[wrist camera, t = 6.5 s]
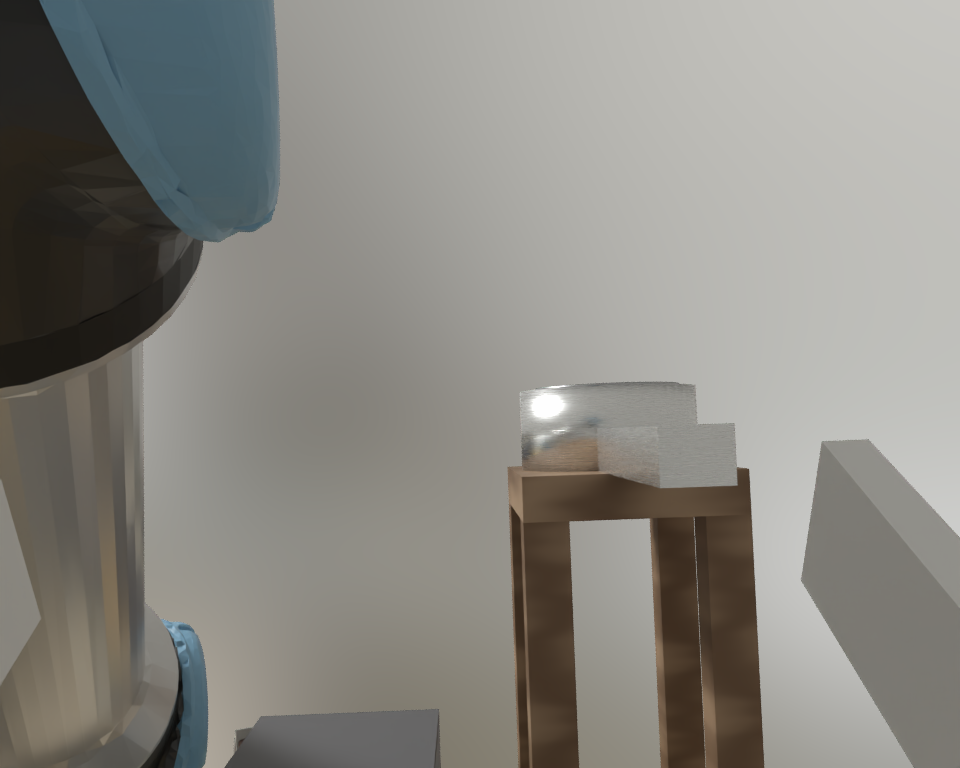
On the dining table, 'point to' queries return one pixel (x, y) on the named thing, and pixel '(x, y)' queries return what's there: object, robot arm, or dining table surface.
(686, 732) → the tall stand
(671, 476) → the silver saucepan
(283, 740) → the gray rectangular block
